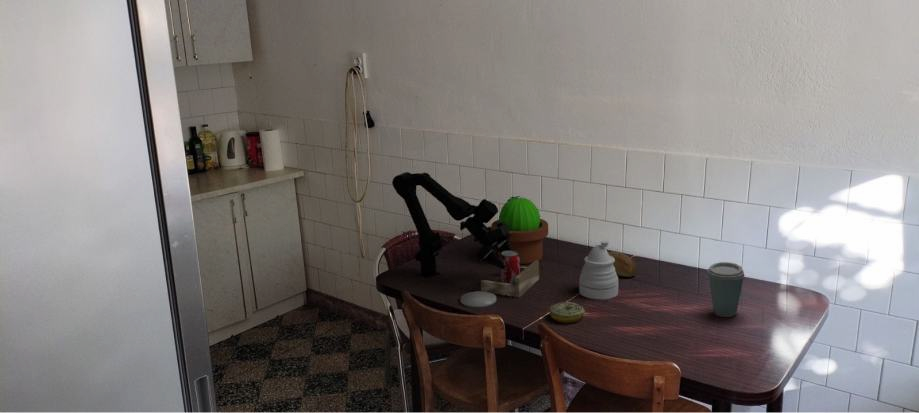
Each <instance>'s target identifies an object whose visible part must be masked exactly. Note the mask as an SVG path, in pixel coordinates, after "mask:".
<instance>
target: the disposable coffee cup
mask: <svg viewBox="0 0 919 413" xmlns="http://www.w3.org/2000/svg"><path fill="white" fill-rule="evenodd" d="M706 273H707V276H708V281H709V286H710V287H709V288H710V294H711V303H712V310H713V312H714V315H716V316H718V317H723V318H729V317H730V318H732V317H734V316H735V315H736V313H738V307H739V301H740V297H741V290H742V287H743V282H744V277H745V272H744V269H743V267H742V266H741V265H739V264H737V263H734V262H729V261H727V262H726V261H724V262H723V261H720V262H715V263H713V264H711V265H710V266H709V268H708V269H707V271H706Z"/></svg>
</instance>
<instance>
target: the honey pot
mask: <svg viewBox="0 0 919 413" xmlns="http://www.w3.org/2000/svg"><path fill="white" fill-rule="evenodd" d="M608 246H609V241H608V240H601V241H600V244H596V245H595V246H593V247H592V248H591V249H590V252H589V253H588V255H587V256H585V257H584V265H583V266H582V270H581V274H580V275H579V278H578V279H579V286H578V287H579V294H580V295H581V296H583V297H585V298H586V299H587V298H588V299H591V300H592V299H593V300H609V299H612V298H615V297H617V296H618V294H619V275H616V271H615V267H614V266H613V263H614V262H615V259H614V258H613V257H612V256H609V254H608V253H609V252H608V251H607V249H606V248H607V247H608Z"/></svg>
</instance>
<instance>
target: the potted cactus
mask: <svg viewBox="0 0 919 413" xmlns="http://www.w3.org/2000/svg"><path fill="white" fill-rule="evenodd" d="M541 217H542V216H541V215H540V211H539V209H538V206H536V205H535V202H534V201H533V200H532V201H531V199H528V198H527V197H523V196H520V195H515V196H511V197H509V199H507V201H506V202H505V203H504V204H503V205H502V207H500V212H499V216H498V219H497V220H495V221H493V222H492V223H491V226H490V227H491V228H492V229H494V228H496V227H498V223H500V222H502V221H503V222H504V223H506V225H508V231H509V232H508V233H509V235H510V237H509V238H510V247H511V250H512V251H516V252H517V253H518V256H519V258H520V265H527V264H529V265H531V264H532V263H533V262H534V261H535V260H538V261H539V262H540V261H541V260H542V259H543V257H544V256H543V255H544V254H543V252H544V251H543V248H544V247H543V246H544V245H543V239H545V238H546V237H548V235H549V223H548V221H546V220H545V219H543V218H541ZM509 238H508V239H509ZM508 239H507V240H508ZM498 249H499V248H497V256H498V258H499V259H500V256H501V252H499V251H498Z"/></svg>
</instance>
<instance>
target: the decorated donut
mask: <svg viewBox="0 0 919 413" xmlns="http://www.w3.org/2000/svg"><path fill="white" fill-rule="evenodd" d="M585 314H586V310H585V309H584V307H583V306H582V305H581V304H578V303H576V302H572V301H564V302H563V301H562V302H558V303H554V304H553V305H551V306H550V307H549V315H550V317H551V319H552V320H553V321H556V322H559V323H564V324H571V323H572V324H573V323H577V322H579V321H580V320H581V319H582V318H583V316H584V315H585Z"/></svg>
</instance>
